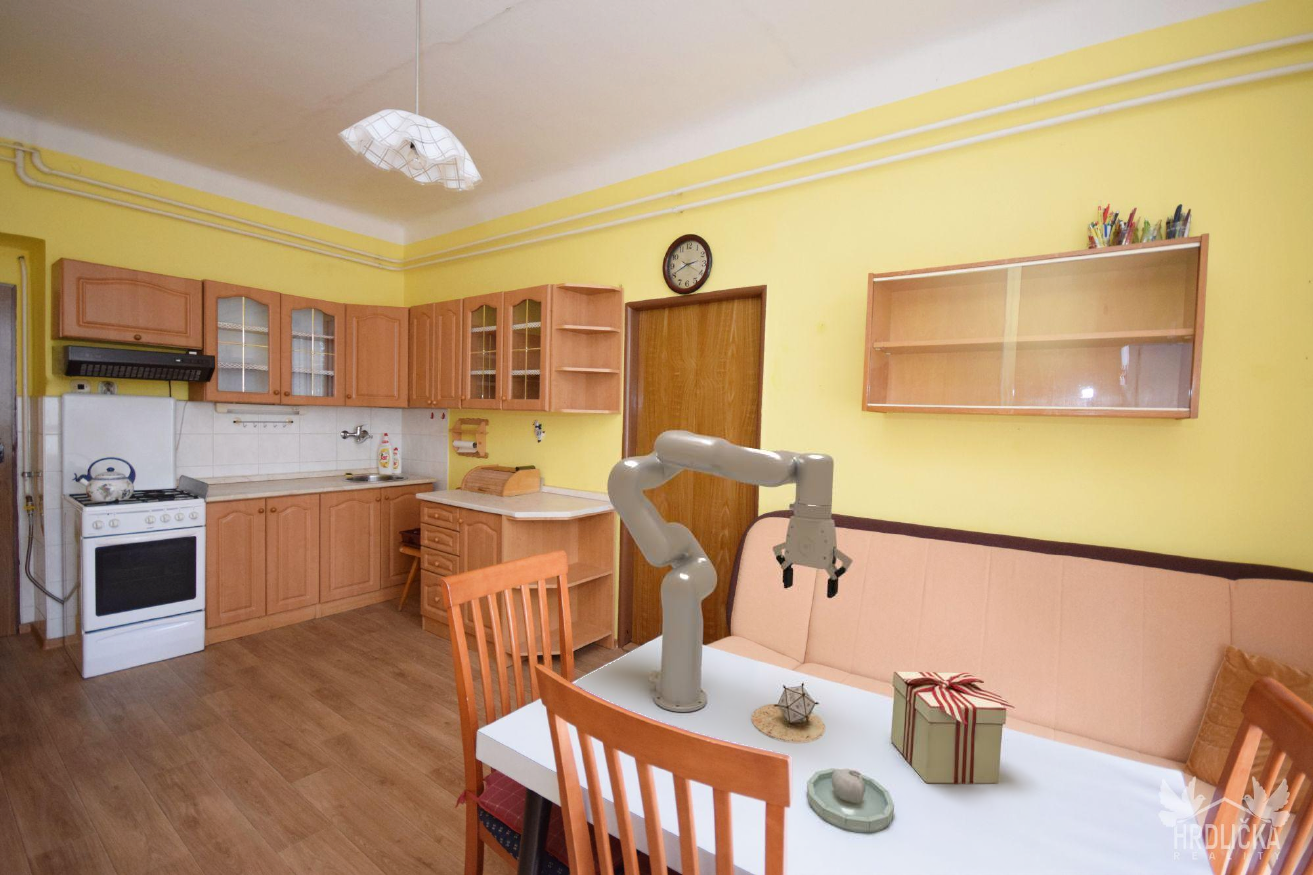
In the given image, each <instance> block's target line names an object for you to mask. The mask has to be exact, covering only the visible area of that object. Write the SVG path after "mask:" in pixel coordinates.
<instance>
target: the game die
mask: <svg viewBox="0 0 1313 875" xmlns="http://www.w3.org/2000/svg"><path fill="white" fill-rule="evenodd" d="M804 683H805V682H803V681H802V683H801V685H799V686H791V687H787V686H786V685H784V684H783V685H782V688H783V689H784V690H783V692H782V694H781V696H780V698H779V700H778V703H777V704H776V703H775V704H773V707H777V708H778V710H780V712H781V714H783V716H784V717H785V718H786V720H787V721H788V725H791V726H792V724H795V723H801V722H802V723H803V722H806V723H807V722H810V720H809V719H810V716H811V714H812V712H813V710H814V708H815V706H816V705H819V704H820V703H819V701H816V702H815V700H814V699H813V698H812V697H811V696H810V694H809V693H808V691H807V690H806V689H805V688H804V685H805V684H804Z"/></svg>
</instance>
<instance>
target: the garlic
mask: <svg viewBox="0 0 1313 875" xmlns="http://www.w3.org/2000/svg"><path fill="white" fill-rule="evenodd" d="M839 769H840V770H838V771H835V772H834V773H833V775H832V779H831V781H832V786H833V789H834V791H835V793H836V794H837V795H838V796H839V797H840V798H841V799H842V800H844V801H847V802H850V803H859V802H861V801H862V799H863V796H864V793H865V790H866V787H865V783H864V781H863V780H862V778H861V777H860V776H859V775H860V774H861V772H860V771H858V770H855V769H849V768H843V769H842V768H839Z"/></svg>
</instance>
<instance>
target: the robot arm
mask: <svg viewBox="0 0 1313 875" xmlns="http://www.w3.org/2000/svg"><path fill="white" fill-rule="evenodd" d="M834 465H835V462H834V458H833V457H832V456H831V455H830V454H826V453H813V452H812V453H811V452H810V453H809V452H808V453H806V452H805V453H799V452H795V451H794V452H793V451H789V450H773V451H770V450H763V449H757V448H752V447H746V446H741V445H737V444H733V443H731V442H729V441H728V440H727V439H725V438H721V437H716V436H710V435H703V434H698V433H697V434H696V433H694V432H691V431H689V430H679V429H677V430H675V429H672V430H667V431H664V432H662V433H660V434H659V435H658V436H657V437H656V439H655V441H654V445H653V451H652V452H651V453H649V454H648V455H639V456H630V457H626V458H623V459H620V460H619V461H618V462H616V463H615V464H614V465H613V467H612V468H611V469H610V472H609V474H608V477H607V478H608V479H607V483H606V484H607V485H606V486H607V496H608V499H609V501H610V504H611V505H612V507H613V509H614V511H616V513H617V515H618V516H619V518H620V519H621V521H622V522H623V523H624V525H625V527H626V528H627V530H628V532H629V533H630V535H631V537H632V538H633V541H634V542H635V544H636V545H637V547H638V549H639V550H640V551H641V553H642V555H643V558H645V560H646V561H647V562H648V563H649V564H650V565H651V566H653V567H656V568H663V567H666V566H668V565H670V566H671V567H672V569H670V571H668V572H667V574H666V575H665V576H664V577H663V580H662V582H661V585H660V597H661V605H662V606H661V608H662V631H661V633H662V636H661V638H662V640H661V660H660V661H661V662H660V671H657V670H655V669H653V670H652V671H651V673H650V676H649V678H648V682H649V683H652V684H655V685H656V688H655V690H654V691H653V696H652V698H653V702H655V704H656V705H657V706H658V707H660V708H663V709H665V710H668V711H670V712H677V713H678V712H679V713H689V712H694V711H699V710H700V709H702V708H703V707H704V706H706V704H707V702H708V695H707V693H706V691H704V690H703V689H702V688H701V685H702V668H703V667H702V663H703V662H702V660H703V640H704V638H703V637H704V617H703V616H704V615H703V610H702V601H703V600H704V599H705V598H707V597H708V596H709V595H711V594H712V593H713V592H714V590H715V589H716V587H717V583H718V575H717V571H716V569H715V567H714V565H713V563H712V561H711V560H710V559H709V556H708V555H707V554H706V552H705V550H704V549H703V547H702V546H701V544H700V543H699V542H698V540H697V539H696V537H695V536H694V534H693V533H692V532H691V530H690V529H689V528H688V527H686V526H685V525H683V524H682V523H678V522H674V521H673V522H672V521H671V522H666V521H665V520H664V518H663V517H662V515H661V514H660V513H659V510H658V509H657V507H656V506H655V505H654V504H653V502H652V501H651V500H650V499H649V498H648V497H646V495H645V493H644V492H643V491H647V490H652V489H656V488H658V487H661V486H662V485H664V484H665V483H667V482H668V481H670V480H671V479H672V478H673V477H676V476H677V475H678V474H680V473H681V472H682V471H684V470H690V471H692V472H693V471H694V472H699V473H704V474H709V475H713V476H717V477H719V478H723V479H728V480H732V481H735V482H739V483H745V484H747V485H748V484H749V485H754V486H759V487H765V488H778V487H781V486H785V485H792V484H793V485H794V484H795V497H794V498H795V499H794V500H795V501H794V502H793V503H789V506H788V509H789V510H791V511H793V514H794V515H791V516H790V518H789V522H788V525H787V530H786V535H785V542H782V543H779V544H777V545H776V544H775V545H773V547H772V551H773V554H774V556H775V559H776V561H777V562H778V564H779V566H780V568H781V570H782V583H783V588H784V589H789V588H791V587H793V585H794V568H793V565H795V566H797V565H798V566H801V567H807V568H813V569H818V570H825V571H826V573H827V575H828V576H829V578H828V579H827V584H826V585H827V587H826V588H827V589H826V598H828V599H832V598H834V597H835V596H836V595H837V594H838V592H839V578H840V577H841V576H843V575H844V574H845V573H847V572H848V570H849V568H850V567H851V565H852V564H853V559H852V558H850V557H849V556H848V555H847V554H845V553H843V552H842V551H841V550H839V549H838V547H837V545H838V544H837V531H836V524H835V520H834V519H832V508H833V507H832V506H833V505H832V504H833V503H832V502H833V488H834V487H833V483H834V468H835V467H834ZM783 550H784V555H783ZM837 560H839V561H840V562H841V563H842V564H841V566H840V568H838V567H837V566H836V563H837Z"/></svg>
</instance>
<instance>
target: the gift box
mask: <svg viewBox="0 0 1313 875" xmlns="http://www.w3.org/2000/svg"><path fill="white" fill-rule="evenodd" d="M892 674H893V675H892V686H893V688H894V690H893V701H892V702H893V703H892V705H893V706H892V715H891V716H892V718H891V730H890V741H891V742H892V744H893V745H894V746H895V747H896V749H898V751H899V752H900V753H901V755H902V756H903V757H904V758H905V760H906V761H907V762H908V763H909V764H910V766H911V768H913V769H914V771H916V773H917V774H918V776H920V778H921V779H922V780H923V781H924V783H926V784H949V785H950V784H952V785H953V784H954V785H959V784H963V785H964V784H966V785H967V784H968V785H969V784H971V785H973V784H976V785H977V784H978V785H979V784H980V785H992V784H993V785H994V784H996V785H997V784H999V778H1000V766H1001V765H1000V764H1001V755H1002V754H1001V752H1002V751H1001V750H1002V740H1003V725H1006V723H1007V722H1006V721H1007V708H1006V707H1010V708H1013V709H1016V707H1015V706H1013V705H1012V704H1011V703H1009V702H1008V701H1006V700H1005V699H1004V698H1003V697H1002V696H1001V695H998V694H996V693H993V692H991V691H987V690H985V689H982V688H981V687H979V686H978V685H976V683H980V684H984V683H985V681H984V680H982V679H980V678H978V677H977V676H975V675H973V674H971V673H969V672H962V673H961V672H943V671H942V672H939V671H938V672H937V671H936V672H935V671H934V672H933V671H932V672H931V671H894V672H893V673H892ZM1005 706H1006V707H1005Z"/></svg>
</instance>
